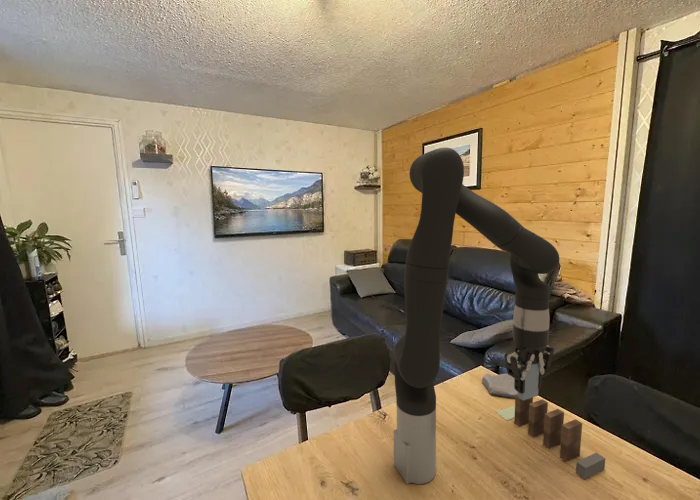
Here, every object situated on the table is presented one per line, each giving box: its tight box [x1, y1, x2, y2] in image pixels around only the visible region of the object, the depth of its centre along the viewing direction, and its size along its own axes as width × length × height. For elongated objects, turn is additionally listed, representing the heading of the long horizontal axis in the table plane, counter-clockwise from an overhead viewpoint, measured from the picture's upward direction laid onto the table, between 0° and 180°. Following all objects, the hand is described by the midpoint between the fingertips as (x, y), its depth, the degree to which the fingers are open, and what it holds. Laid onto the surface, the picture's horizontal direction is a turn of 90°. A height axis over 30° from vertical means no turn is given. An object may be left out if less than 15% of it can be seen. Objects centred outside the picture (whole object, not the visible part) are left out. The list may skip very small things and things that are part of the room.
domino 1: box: [518, 363, 539, 400], centre depth 78 cm, size 5×2×9 cm, turn 110°
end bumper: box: [575, 452, 606, 480], centre depth 74 cm, size 7×2×3 cm, turn 111°
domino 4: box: [542, 408, 565, 450], centre depth 82 cm, size 5×2×9 cm, turn 111°
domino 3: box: [527, 398, 549, 438], centre depth 86 cm, size 5×2×9 cm, turn 111°
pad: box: [495, 405, 515, 421], centre depth 95 cm, size 7×4×1 cm, turn 111°
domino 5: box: [559, 418, 583, 463], centre depth 78 cm, size 5×2×9 cm, turn 111°
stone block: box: [481, 373, 518, 399], centre depth 107 cm, size 12×5×10 cm
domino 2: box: [513, 394, 534, 428], centre depth 90 cm, size 5×2×9 cm, turn 111°
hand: (528, 388), depth 78 cm, fingers closed on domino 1, 5 cm apart
